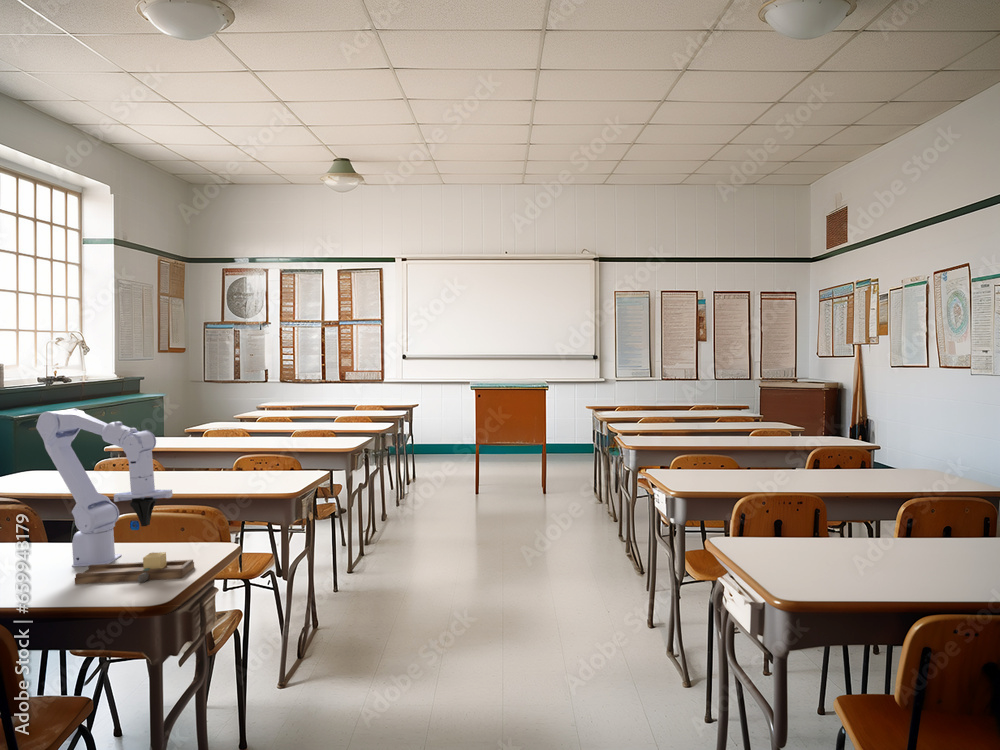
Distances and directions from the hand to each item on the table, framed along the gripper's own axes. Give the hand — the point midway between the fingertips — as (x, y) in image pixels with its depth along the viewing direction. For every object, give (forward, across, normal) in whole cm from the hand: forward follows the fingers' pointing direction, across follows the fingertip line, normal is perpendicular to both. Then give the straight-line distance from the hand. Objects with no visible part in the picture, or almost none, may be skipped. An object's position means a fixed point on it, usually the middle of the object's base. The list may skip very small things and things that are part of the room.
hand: (145, 525), depth 178 cm
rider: (+9, +6, -10) cm, 15 cm away
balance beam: (+10, +1, -10) cm, 14 cm away
